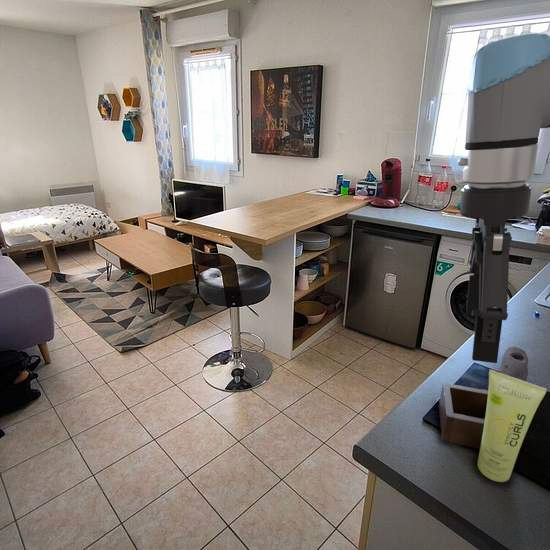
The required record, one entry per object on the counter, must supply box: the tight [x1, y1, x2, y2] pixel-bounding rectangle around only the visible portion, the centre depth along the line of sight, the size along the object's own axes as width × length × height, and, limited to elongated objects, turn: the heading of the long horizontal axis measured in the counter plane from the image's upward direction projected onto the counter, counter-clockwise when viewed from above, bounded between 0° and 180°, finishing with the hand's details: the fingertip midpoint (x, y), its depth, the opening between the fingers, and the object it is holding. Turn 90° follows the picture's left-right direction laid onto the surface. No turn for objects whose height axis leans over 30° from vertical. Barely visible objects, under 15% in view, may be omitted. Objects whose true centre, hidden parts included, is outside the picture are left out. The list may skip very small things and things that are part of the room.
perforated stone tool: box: [499, 346, 529, 382], centre depth 80 cm, size 15×5×7 cm, turn 145°
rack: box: [438, 382, 488, 450], centre depth 70 cm, size 10×10×6 cm
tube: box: [477, 368, 548, 483], centre depth 59 cm, size 6×5×20 cm
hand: (479, 334), depth 52 cm, fingers open, 13 cm apart
